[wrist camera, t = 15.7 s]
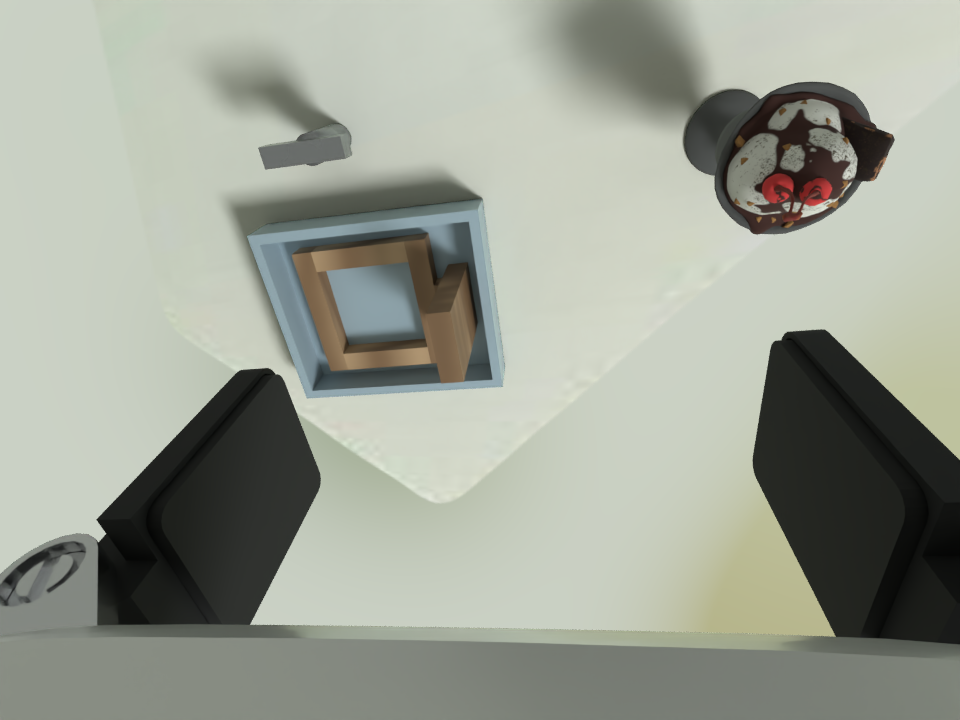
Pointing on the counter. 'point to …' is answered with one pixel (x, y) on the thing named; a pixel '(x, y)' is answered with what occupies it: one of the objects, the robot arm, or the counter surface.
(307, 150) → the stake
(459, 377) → the ring
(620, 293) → the counter surface
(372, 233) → the tray
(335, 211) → the counter surface
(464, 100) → the counter surface
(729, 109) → the sundae
